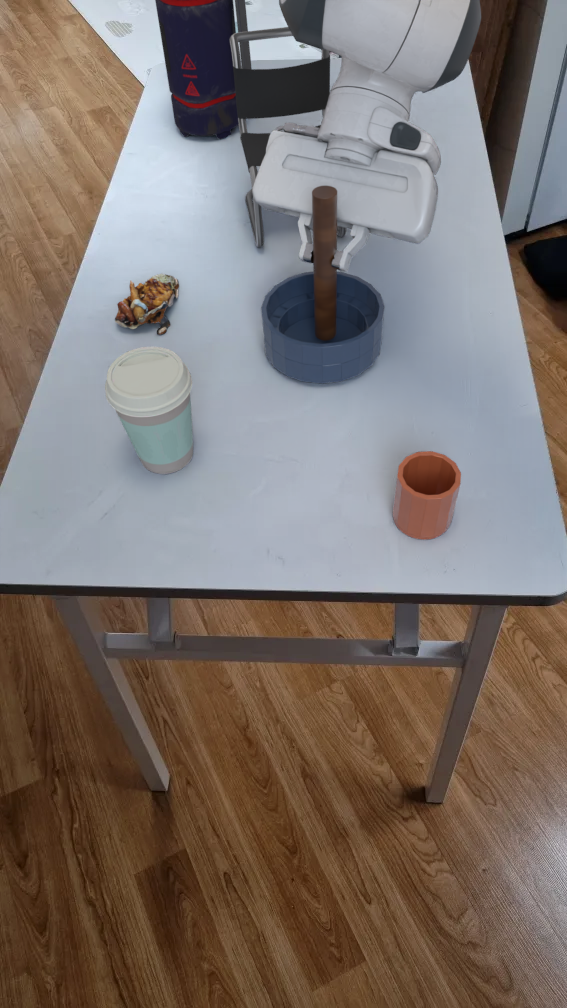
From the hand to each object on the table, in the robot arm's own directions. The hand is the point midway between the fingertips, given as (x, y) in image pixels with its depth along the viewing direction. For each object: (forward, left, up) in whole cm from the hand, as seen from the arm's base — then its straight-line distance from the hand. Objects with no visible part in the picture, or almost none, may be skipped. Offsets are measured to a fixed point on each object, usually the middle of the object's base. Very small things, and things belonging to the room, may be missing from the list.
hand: (322, 265), depth 79 cm
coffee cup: (+14, +20, -12) cm, 27 cm away
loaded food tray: (+24, -5, -12) cm, 27 cm away
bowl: (0, 0, -12) cm, 12 cm away
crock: (-14, +24, -12) cm, 30 cm away
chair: (+9, -28, -12) cm, 32 cm away
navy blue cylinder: (+28, -55, -12) cm, 63 cm away
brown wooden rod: (0, -1, -10) cm, 10 cm away
